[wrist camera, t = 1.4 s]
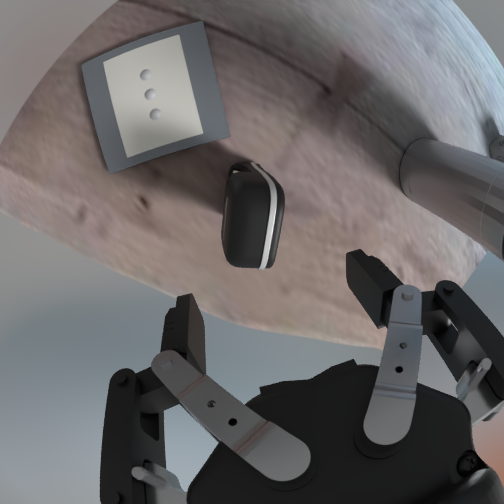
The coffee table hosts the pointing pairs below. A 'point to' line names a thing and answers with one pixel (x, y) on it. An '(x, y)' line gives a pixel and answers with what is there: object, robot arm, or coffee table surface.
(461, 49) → the coffee table surface
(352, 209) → the coffee table surface
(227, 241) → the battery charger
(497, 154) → the dice cube
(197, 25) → the pad
